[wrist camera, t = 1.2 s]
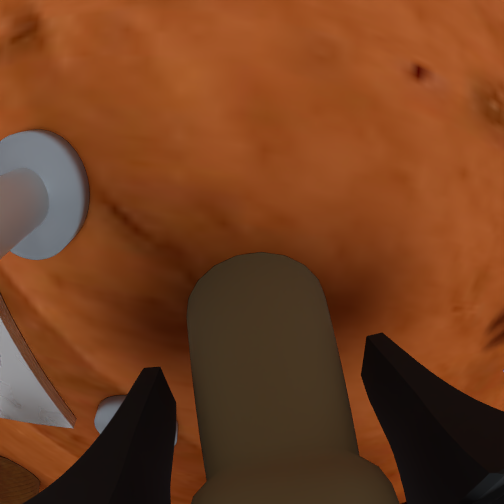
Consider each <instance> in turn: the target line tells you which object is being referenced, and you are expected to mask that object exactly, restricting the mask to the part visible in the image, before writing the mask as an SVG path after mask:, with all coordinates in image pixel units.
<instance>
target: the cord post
mask: <svg viewBox="0 0 504 504" xmlns="http://www.w3.org/2000/svg"><path fill="white" fill-rule="evenodd" d="M89 196H90V193H89V183H88V177H87V174H86V170H85V168H84V165H83V163H82V161H81V159H80V157H79V155H78V154H77V152H76V151H75V150H74V148H73V147H72V146H71V145H70V144H69V143H68V142H67V141H66V140H65V139H63V138H62V137H61V136H59V135H57V134H56V133H53V132H51V131H47V130H42V129H34V130H28V131H24V132H20V133H16V134H13V135H10V136H8V137H6V138H4V139H3V140H1V141H0V259H1V258H2V257H3V256H4V255H5V254H6V253H8V252H9V251H11V252H12V253H14V254H16V255H18V256H20V257H23V258H26V259H31V260H41V259H46V258H50V257H52V256H54V255H56V254H57V253H59V252H60V251H61V250H62V249H63V248H64V247H65V246H66V245H67V244H68V243H69V242H70V241H71V240H72V239H73V238H74V237H75V236H76V235H77V233H78V232H79V231H80V229H81V227H82V226H83V224H84V221H85V219H86V216H87V212H88V207H89Z"/></svg>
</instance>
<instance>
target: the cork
mask: <svg viewBox="0 0 504 504" xmlns="http://www.w3.org/2000/svg"><path fill="white" fill-rule="evenodd" d="M187 328H188V339H189V350H190V360H191V369H192V378H193V387H194V396H195V404H196V412H197V419H198V427H199V434H200V441H201V447H202V454H203V460H204V466H205V472H206V478H207V482H206V483H205V484H204V485H203V486H202V487H201V489H200V490H199V491H198V492H197V493H196V494H195V495H194V496H193V499H192V502H191V504H399V501H398V498H397V496H396V493H395V491H394V488H393V486H392V483H391V482H390V481H389V479H388V478H387V477H386V476H385V474H384V473H383V472H382V470H381V469H380V468H379V467H378V466H376V465H375V464H373V463H371V462H369V461H367V460H366V459H364V458H362V457H360V456H359V451H358V445H357V440H356V434H355V429H354V424H353V419H352V413H351V408H350V403H349V398H348V394H347V389H346V384H345V379H344V375H343V370H342V365H341V361H340V356H339V352H338V348H337V343H336V339H335V335H334V330H333V326H332V322H331V318H330V314H329V310H328V306H327V302H326V298H325V295H324V292H323V290H322V287H321V285H320V282H319V280H318V279H317V277H316V276H315V275H314V274H313V273H312V272H311V271H310V270H309V269H308V268H307V267H306V266H305V265H303V264H301V263H299V262H297V261H295V260H293V259H291V258H289V257H287V256H284V255H277V254H270V253H263V252H259V253H252V254H245V255H238V256H235V257H233V258H230V259H228V260H226V261H224V262H222V263H219V264H217V265H215V266H214V267H213V268H211V269H210V270H209V271H208V272H207V273H206V274H205V275H204V276H203V277H202V278H200V279H199V280H198V282H197V283H196V285H195V287H194V289H193V291H192V293H191V295H190V297H189V299H188V308H187Z"/></svg>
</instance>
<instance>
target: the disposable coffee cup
mask: <svg viewBox="0 0 504 504" xmlns="http://www.w3.org/2000/svg"><path fill="white" fill-rule="evenodd" d="M39 486H40V481H39V480H38V479H37V478H36V477H35V476H34V475H33V474H31V473H30V472H29V471H27V470H26V469H24V468H23V467H21V466H19V465H18V464H16V463H14V462H12V461H10V460H8V459H6V458H3V457H0V504H23V503H24V502H26V501H27V500H29V499H31V498H32V497H34V496H35V495H37V494H38V493H39Z"/></svg>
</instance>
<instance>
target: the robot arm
mask: <svg viewBox="0 0 504 504" xmlns="http://www.w3.org/2000/svg"><path fill="white" fill-rule="evenodd" d="M361 376H362V380H363V383H364V386H365V389H366V392H367V395H368V398H369V400H370V403H371V405H372V407H373V409H374V411H375V413H376V416H377V418H378V420H379V422H380V424H381V426H382V428H383V431H384V433H385V435H386V437H387V439H388V441H389V444H390V446H391V449H392V451H393V454H394V457H395V460H396V463H397V467H398V470H399V473H400V477H401V481H402V485H403V488H404V492H405V497H406V502H407V504H504V412H503V411H501V410H498V409H496V408H493V407H491V406H489V405H486V404H484V403H482V402H480V401H478V400H476V399H474V398H472V397H470V396H468V395H466V394H464V393H463V392H461V391H459V390H457V389H456V388H454V387H452V386H451V385H449V384H448V383H446V382H445V381H443V380H442V379H440V378H439V377H437V376H436V375H435V374H433V373H432V372H430V371H429V370H428V369H426V368H425V367H424V366H423V365H421V364H420V363H419V362H417V361H416V360H415V359H414V358H412V357H411V356H410V355H409V354H408V353H406V352H405V351H404V350H403V349H402V348H400V347H399V346H398V345H397V344H396V343H394V342H393V341H392V340H391V339H390V338H388V337H387V336H386V335H385V334H383V333H378V334H374V335H370V336H367V337H366V345H365V352H364V359H363V365H362V372H361ZM175 435H176V401H175V399H174V397H173V395H172V392H171V390H170V388H169V386H168V384H167V381H166V379H165V377H164V374H163V372H162V370H161V367H151V368H144V369H143V370H142V371H141V373H140V375H139V376H138V378H137V380H136V381H135V383H134V385H133V386H132V388H131V389H130V391H129V393H128V394H127V396H126V397H125V399H124V401H123V402H122V404H121V405H120V407H119V408H118V410H117V411H116V413H115V414H114V416H113V417H112V419H111V420H110V422H109V423H108V424H107V426H106V427H105V428H104V430H103V431H102V433H101V434H100V435H99V437H98V438H97V439H96V440H95V442H94V443H93V444H92V445H91V446H90V448H89V449H88V450H87V451H86V452H85V453H84V454H83V455H82V456H81V457H80V458H79V460H78V461H77V462H76V463H75V464H74V465H73V466H72V467H70V468H69V469H68V470H67V471H66V472H65V473H64V474H63V475H62V476H61V477H59V478H58V479H57V480H56V481H55V482H53V483H52V484H51V485H50V486H48V487H47V488H46V489H44V490H43V491H41V492H40V493H38V494H37V495H35V496H34V497H32V498H31V499H29V500H27V501H26V502H24V503H23V504H171V500H170V482H171V471H172V462H173V453H174V444H175Z"/></svg>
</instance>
